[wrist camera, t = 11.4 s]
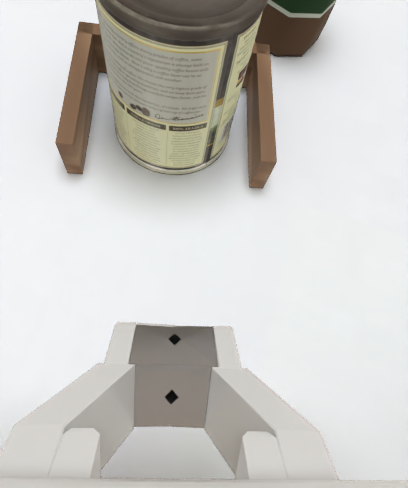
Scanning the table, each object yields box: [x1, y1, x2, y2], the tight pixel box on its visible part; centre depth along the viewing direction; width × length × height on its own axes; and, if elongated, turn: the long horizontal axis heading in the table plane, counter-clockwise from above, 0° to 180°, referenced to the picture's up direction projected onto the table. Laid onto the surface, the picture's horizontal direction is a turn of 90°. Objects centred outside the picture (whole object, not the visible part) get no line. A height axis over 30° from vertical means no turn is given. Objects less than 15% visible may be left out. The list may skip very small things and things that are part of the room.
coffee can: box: [95, 0, 268, 174], centre depth 27 cm, size 10×10×14 cm
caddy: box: [56, 22, 277, 188], centre depth 32 cm, size 16×12×4 cm
